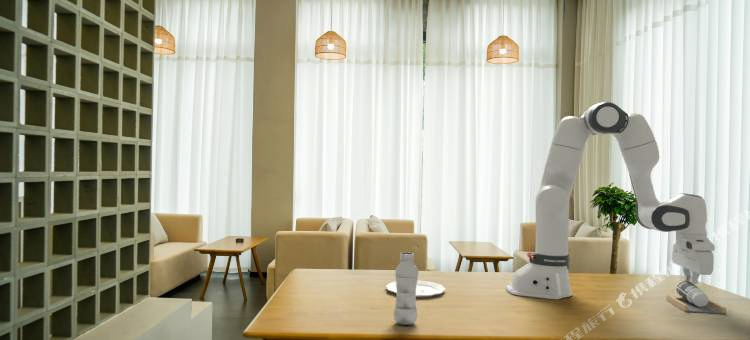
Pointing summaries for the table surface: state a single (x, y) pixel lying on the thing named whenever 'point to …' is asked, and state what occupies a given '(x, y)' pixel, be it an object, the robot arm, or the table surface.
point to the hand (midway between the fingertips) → (691, 282)
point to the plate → (426, 286)
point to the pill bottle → (692, 293)
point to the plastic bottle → (406, 290)
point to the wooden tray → (689, 307)
